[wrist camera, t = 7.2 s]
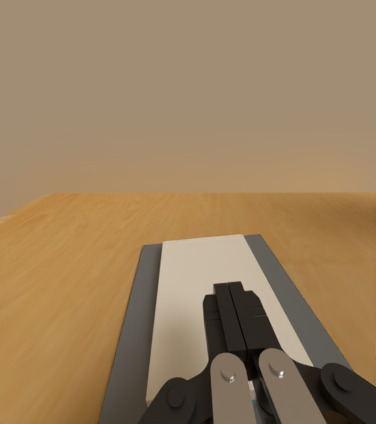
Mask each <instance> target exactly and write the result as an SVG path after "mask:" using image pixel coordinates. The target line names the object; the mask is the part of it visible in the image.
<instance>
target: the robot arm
mask: <svg viewBox="0 0 376 424" xmlns="http://www.w3.org/2000/svg"><path fill="white" fill-rule="evenodd" d="M202 304H203V318H204V328H205V336H206V344H207V351H208V359H209V360H208V363H207V366H206V367H205V369H204V370H203V371H202V372H201V373H200V374H198V375H196V376H195V377H193V378H191V379H189V380H186V379H184V378H181V377H175V378H172V379H169V380H168V381H167V382H166V383H164V385H163V386H162V387H161V389H160V390H159V392H158V393H157V395H156V396H155V398H154V399H153V401H152V402H151V404H150V405H149V407H148V408H147V410H146V411H145V413H144V414H143V416H142V417H141V419H140V420H139V422H138V423H137V424H257V423H256V418H255V413H254V408H253V403H252V398H251V393H250V388H249V383H248V381H252V383H253V387H254V390H255V403H256V406H257V409H258V412H259V415H260V418H261V421H262V424H376V387H375V386H374V385H372V384H371V383H369V382H368V381H366V380H365V379H363V378H362V377H360V376H359V375H357V374H356V373H355V372H353V371H352V370H350V369H349V368H347V367H345V366H343V365H341V364H338V363H327V364H325V365H324V366H323V367H322V369H321V368H317V367H313V366H309V365H305V364H302V363H299V362H297V361H295V360H293V359H292V358H291V357H289V356H288V355H287V354H286V353H285V352H284V350H283V349H282V347H281V345H280V343H279V341H278V339H277V336H276V334H275V332H274V330H273V327H272V325H271V323H270V321H269V318H268V316H267V314H266V312H265V309H264V308H263V305H262V303H261V300H260V298H259V297H258V296H257V295H256V294H255V293H254V292H253V291H252V290H249V291H245V290H244V288H243V285H242V283H241V281H236V282H227V283H216V284H213V294H208V295H205V297H204V300H203V303H202Z"/></svg>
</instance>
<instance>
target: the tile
mask: <svg viewBox="0 0 376 424" xmlns="http://www.w3.org/2000/svg"><path fill="white" fill-rule="evenodd" d="M236 281H241V283H242V285H243V288H244V290H245V291H249V290H252V291H253V292H254V293H255V294H256V295H257V296H258V297H259V298H260V300H261V303H262V305H263V308H264V309H265V312H266V314H267V316H268V318H269V321H270V323H271V325H272V327H273V330H274V332H275V334H276V336H277V339H278V341H279V343H280V345H281V347H282V349H283V350H284V352H285V353H286V354H287V355H288V356H289V357H291V358H292V359H293V360H295V361H297V362H299V363H302V364H305V365H309V366H313V364H312V362H311V360H310V359H309V357H308V355H307V353H306V351H305V349H304V347H303V346H302V344H301V342H300V340H299V338H298V336H297V334H296V333H295V331H294V329H293V327H292V325H291V323H290V322H289V320H288V318H287V316H286V314H285V312H284V310H283V309H282V307H281V305H280V303H279V301H278V299H277V297H276V296H275V294H274V292H273V290H272V288H271V286H270V284H269V283H268V281H267V279H266V277H265V275H264V273H263V271H262V270H261V268H260V266H259V264H258V262H257V260H256V258H255V257H254V255H253V253H252V251H251V249H250V247H249V246H248V244H247V242H246V240H245V238H244V236H243V234H238V235H227V236H216V237H206V238H195V239H184V240H174V241H163V246H162V256H161V265H160V274H159V283H158V292H157V301H156V311H155V320H154V329H153V338H152V347H151V356H150V365H149V375H148V384H147V393H146V403H147V406H148V407H149V405H150V404H151V402H152V401H153V399H154V398H155V396H156V395H157V393H158V392H159V390H160V389H161V387H162V386H163V385H164V383H166V382H167V381H168V380H169V379H172V378H175V377H181V378H184V379H186V380H189V379H191V378H193V377H195V376H196V375H198V374H200V373H201V372H202V371H203V370H204V369H205V367H206V366H207V363H208V360H209V359H208V351H207V344H206V336H205V328H204V318H203V304H202V303H203V300H204V297H205V295H208V294H213V284H216V283H227V282H236ZM313 367H314V366H313ZM248 383H249V388H250V393H251V398H252V403H255V390H254V387H253V383H252V381H248Z"/></svg>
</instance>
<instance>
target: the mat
mask: <svg viewBox="0 0 376 424" xmlns="http://www.w3.org/2000/svg"><path fill="white" fill-rule="evenodd" d="M244 238H245V240H246V242H247V244H248V246H249V247H250V249H251V251H252V253H253V255H254V257H255V258H256V260H257V262H258V264H259V266H260V268H261V270H262V271H263V273H264V275H265V277H266V279H267V281H268V283H269V284H270V286H271V288H272V290H273V292H274V294H275V296H276V297H277V299H278V301H279V303H280V305H281V307H282V309H283V310H284V312H285V314H286V316H287V318H288V320H289V322H290V323H291V325H292V327H293V329H294V331H295V333H296V334H297V336H298V338H299V340H300V342H301V344H302V346H303V347H304V349H305V351H306V353H307V355H308V357H309V359H310V360H311V362H312V364H313V366H314V367H317V368H321V369H322V367H323V366H324V365H325V364H327V363H338V364H341V365H343V366H345V367H347V368H349V369H350V370H352V371H353V369H352V368H351V366H350V365H349V363H348V362H347V361H346V359H345V358H344V356H343V355H342V353H341V352H340V350H339V349H338V347H337V346H336V344H335V343H334V342H333V340H332V339H331V337H330V336H329V334H328V333H327V331H326V330H325V328H324V327H323V325H322V324H321V323H320V321H319V320H318V318H317V317H316V315H315V314H314V312H313V311H312V309H311V308H310V306H309V305H308V304H307V302H306V301H305V299H304V298H303V296H302V295H301V293H300V292H299V290H298V289H297V288H296V286H295V285H294V283H293V282H292V280H291V279H290V277H289V276H288V274H287V273H286V271H285V270H284V269H283V267H282V266H281V264H280V263H279V261H278V260H277V258H276V257H275V255H274V254H273V252H272V251H271V250H270V248H269V247H268V245H267V244H266V242H265V241H264V239H263V238H262V236H261V235H260V234H258V235H248V236H244ZM162 246H163V244H152V245H143V249H142V253H141V257H140V261H139V265H138V269H137V273H136V277H135V281H134V285H133V289H132V293H131V296H130V300H129V304H128V308H127V312H126V316H125V320H124V324H123V328H122V332H121V336H120V340H119V344H118V348H117V352H116V356H115V359H114V363H113V367H112V371H111V375H110V379H109V383H108V387H107V391H106V395H105V399H104V403H103V407H102V411H101V415H100V418H99V422H98V424H137V423H138V422H139V420H140V419H141V417H142V416H143V414H144V413H145V411H146V410H147V408H148V406H147V403H146V393H147V384H148V375H149V365H150V356H151V347H152V338H153V329H154V320H155V311H156V301H157V292H158V283H159V274H160V265H161V256H162ZM353 372H354V371H353ZM253 408H254V413H255V418H256V423H257V424H262V421H261V418H260V415H259V412H258V409H257V406H256V403H253Z"/></svg>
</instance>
